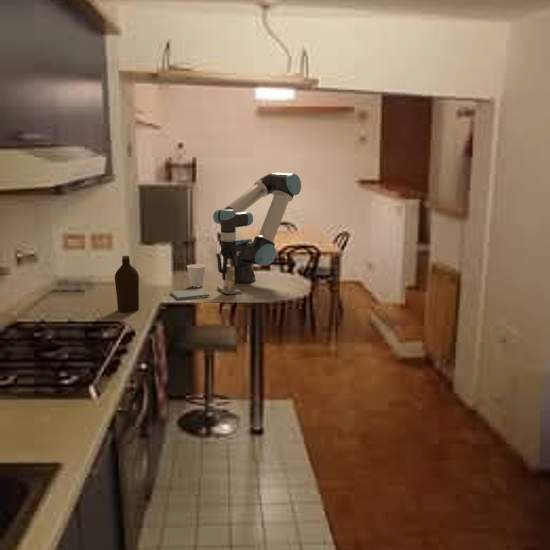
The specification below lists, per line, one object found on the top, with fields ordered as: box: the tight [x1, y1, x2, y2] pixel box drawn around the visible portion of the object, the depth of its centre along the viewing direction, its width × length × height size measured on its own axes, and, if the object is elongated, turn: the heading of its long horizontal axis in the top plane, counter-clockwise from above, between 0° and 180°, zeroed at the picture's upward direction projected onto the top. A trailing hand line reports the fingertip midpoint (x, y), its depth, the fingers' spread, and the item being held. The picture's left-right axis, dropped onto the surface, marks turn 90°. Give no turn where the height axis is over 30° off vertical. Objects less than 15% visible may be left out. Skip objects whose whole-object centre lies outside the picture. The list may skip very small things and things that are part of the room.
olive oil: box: [114, 255, 140, 313], centre depth 280 cm, size 11×11×25 cm
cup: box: [186, 263, 206, 288], centre depth 327 cm, size 10×10×11 cm
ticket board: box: [169, 287, 210, 301], centre depth 309 cm, size 16×14×2 cm
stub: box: [217, 263, 242, 295], centre depth 315 cm, size 8×14×13 cm, turn 24°
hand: (229, 285), depth 316 cm, fingers closed on stub, 3 cm apart
